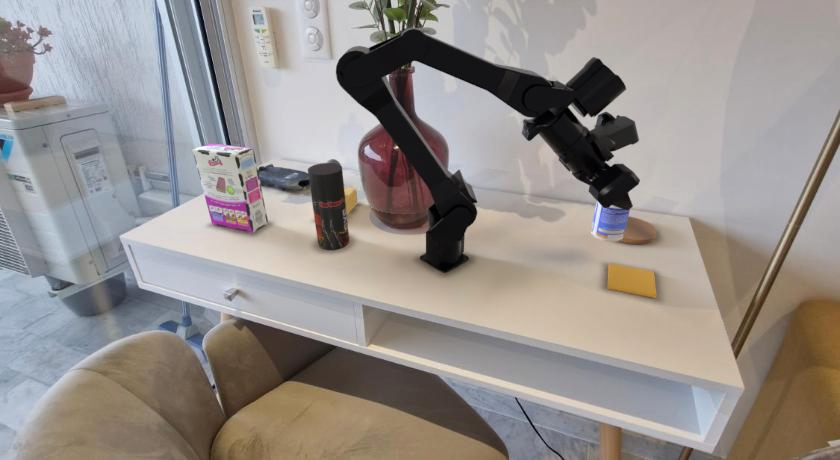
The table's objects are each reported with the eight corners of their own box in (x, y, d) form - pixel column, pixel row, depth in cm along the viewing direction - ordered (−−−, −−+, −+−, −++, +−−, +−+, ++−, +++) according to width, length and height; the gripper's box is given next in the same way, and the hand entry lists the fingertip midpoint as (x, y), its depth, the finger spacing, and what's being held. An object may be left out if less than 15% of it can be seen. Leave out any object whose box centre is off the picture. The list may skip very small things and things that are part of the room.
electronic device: (249, 191, 110) (295, 193, 103) (245, 169, 108) (291, 170, 101) (276, 183, 117) (320, 184, 111) (272, 162, 116) (316, 162, 109)
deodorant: (349, 249, 81) (341, 173, 74) (316, 251, 81) (305, 175, 74) (349, 234, 87) (342, 162, 79) (319, 236, 86) (309, 163, 79)
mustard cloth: (655, 298, 67) (656, 295, 67) (607, 288, 70) (607, 285, 69) (653, 274, 73) (653, 271, 73) (608, 266, 75) (609, 263, 75)
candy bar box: (270, 223, 91) (255, 147, 83) (253, 234, 87) (236, 155, 79) (228, 215, 95) (210, 141, 87) (210, 225, 91) (190, 148, 83)
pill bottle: (630, 240, 75) (643, 188, 70) (603, 244, 74) (615, 191, 69) (609, 226, 80) (620, 176, 75) (583, 230, 78) (593, 179, 74)
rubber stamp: (341, 223, 91) (335, 168, 85) (315, 220, 92) (308, 166, 86) (358, 203, 99) (353, 152, 94) (334, 201, 100) (328, 151, 95)
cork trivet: (642, 250, 80) (643, 245, 79) (591, 231, 86) (592, 226, 86) (664, 232, 86) (665, 227, 85) (615, 215, 92) (616, 211, 92)
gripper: (641, 115, 57) (698, 191, 63) (587, 88, 74) (636, 150, 79) (572, 173, 61) (632, 239, 66) (536, 135, 77) (586, 191, 83)
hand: (622, 201), depth 74 cm, fingers closed on pill bottle, 5 cm apart
